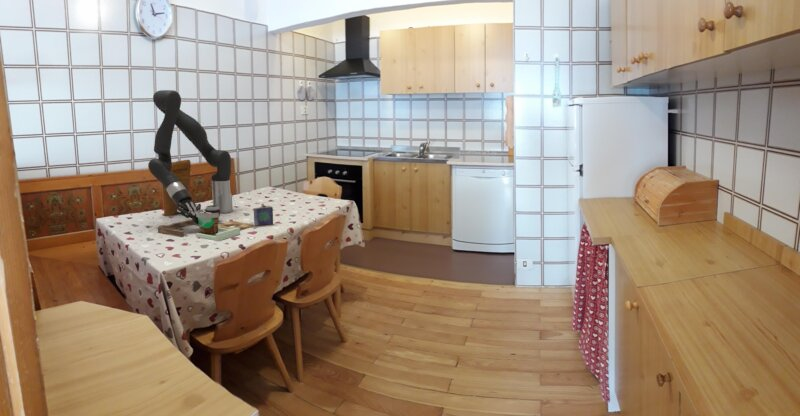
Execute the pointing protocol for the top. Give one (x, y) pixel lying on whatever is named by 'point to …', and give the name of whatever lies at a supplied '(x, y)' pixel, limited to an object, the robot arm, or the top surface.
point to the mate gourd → (213, 208)
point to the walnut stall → (169, 228)
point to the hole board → (234, 223)
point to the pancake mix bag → (183, 174)
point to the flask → (263, 215)
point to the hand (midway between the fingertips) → (199, 222)
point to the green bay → (221, 234)
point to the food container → (208, 222)
